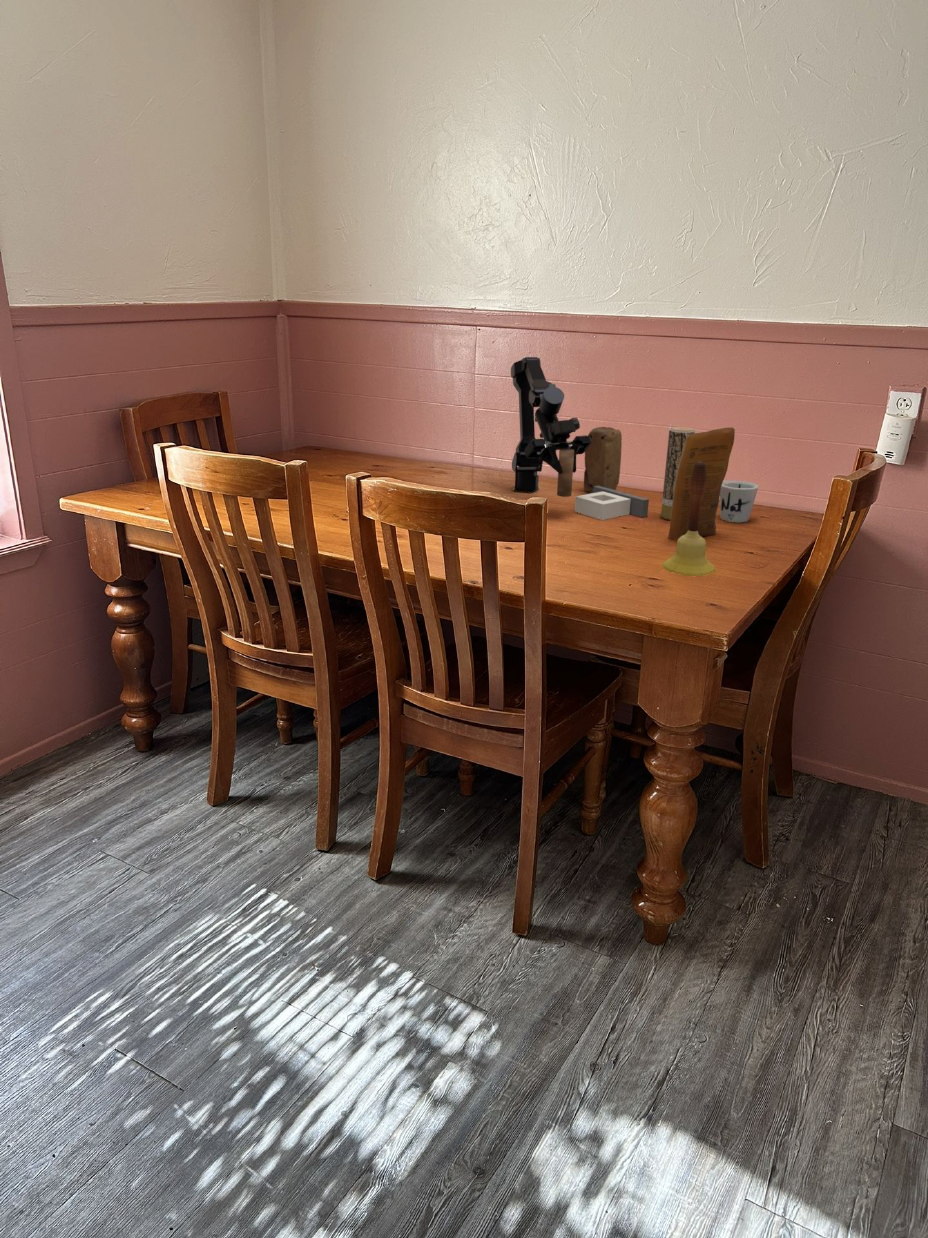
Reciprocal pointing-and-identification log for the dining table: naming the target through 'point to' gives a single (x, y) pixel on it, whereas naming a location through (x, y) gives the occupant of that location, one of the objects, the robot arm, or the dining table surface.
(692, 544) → the handbell
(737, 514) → the mug
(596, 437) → the block
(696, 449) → the pancake mix bag
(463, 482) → the dining table surface
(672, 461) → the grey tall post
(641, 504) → the backstop wall
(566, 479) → the dowel
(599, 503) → the hole block
